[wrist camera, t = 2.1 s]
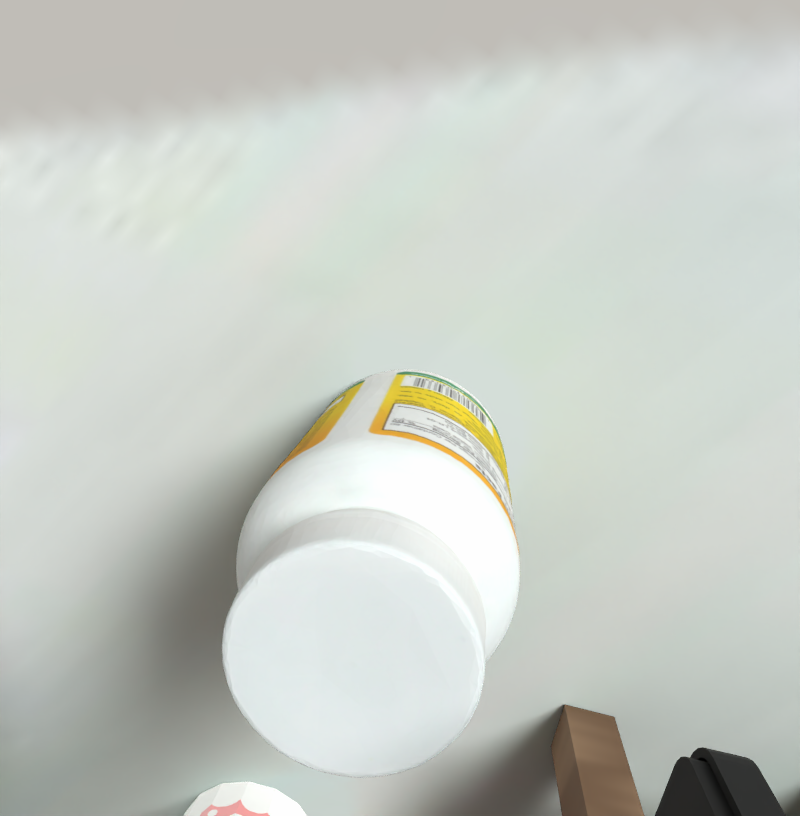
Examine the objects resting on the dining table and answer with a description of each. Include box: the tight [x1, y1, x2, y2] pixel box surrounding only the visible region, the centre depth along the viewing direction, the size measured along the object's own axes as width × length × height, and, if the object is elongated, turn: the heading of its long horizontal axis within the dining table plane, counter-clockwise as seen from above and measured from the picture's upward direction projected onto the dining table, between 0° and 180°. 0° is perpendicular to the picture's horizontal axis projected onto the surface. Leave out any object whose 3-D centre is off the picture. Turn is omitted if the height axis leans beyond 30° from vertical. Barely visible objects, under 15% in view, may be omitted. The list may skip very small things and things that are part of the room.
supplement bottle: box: [222, 369, 520, 778], centre depth 15 cm, size 5×5×10 cm
